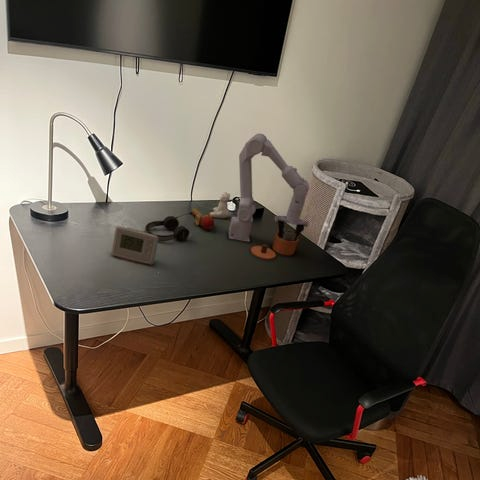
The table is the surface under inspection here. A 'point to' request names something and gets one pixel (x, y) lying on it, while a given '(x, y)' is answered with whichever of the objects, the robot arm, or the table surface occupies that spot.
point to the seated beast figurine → (221, 207)
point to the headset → (170, 228)
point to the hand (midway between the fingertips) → (286, 238)
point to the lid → (263, 252)
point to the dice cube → (288, 235)
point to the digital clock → (134, 245)
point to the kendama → (203, 219)
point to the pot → (284, 245)
